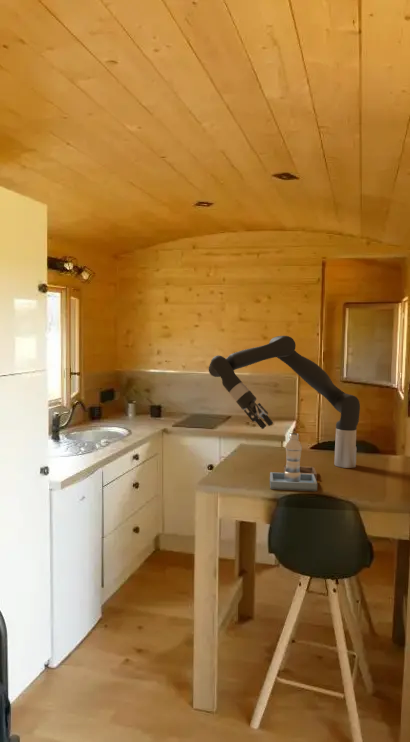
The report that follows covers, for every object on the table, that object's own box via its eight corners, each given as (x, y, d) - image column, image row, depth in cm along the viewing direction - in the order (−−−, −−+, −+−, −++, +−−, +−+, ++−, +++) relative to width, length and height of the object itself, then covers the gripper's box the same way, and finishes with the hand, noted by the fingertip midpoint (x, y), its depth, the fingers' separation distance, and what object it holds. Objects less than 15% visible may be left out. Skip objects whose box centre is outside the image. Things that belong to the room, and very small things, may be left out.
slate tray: (313, 481, 233) (313, 474, 233) (317, 491, 219) (317, 483, 219) (269, 479, 235) (270, 472, 234) (270, 489, 221) (270, 481, 220)
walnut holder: (313, 472, 247) (314, 467, 246) (316, 480, 235) (316, 474, 235) (283, 471, 248) (284, 465, 248) (285, 478, 236) (285, 472, 236)
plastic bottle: (280, 481, 229) (282, 432, 227) (295, 480, 231) (297, 432, 230) (289, 485, 223) (291, 436, 221) (303, 484, 225) (305, 435, 224)
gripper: (242, 391, 226) (268, 422, 222) (254, 388, 238) (279, 417, 235) (230, 403, 228) (255, 434, 224) (242, 399, 241) (267, 429, 237)
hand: (268, 426), depth 229 cm, fingers open, 8 cm apart
